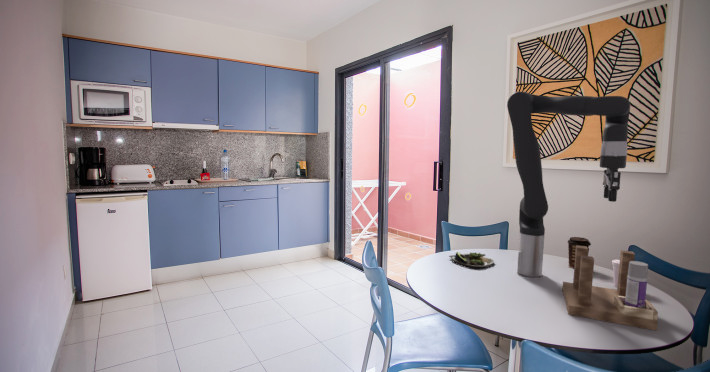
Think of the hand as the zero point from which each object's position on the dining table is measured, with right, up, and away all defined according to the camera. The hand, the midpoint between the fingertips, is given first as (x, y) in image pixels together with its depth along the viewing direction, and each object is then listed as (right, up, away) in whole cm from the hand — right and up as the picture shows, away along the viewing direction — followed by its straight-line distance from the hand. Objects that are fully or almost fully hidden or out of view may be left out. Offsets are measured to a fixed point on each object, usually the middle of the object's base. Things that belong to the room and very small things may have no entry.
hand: (609, 199), depth 126 cm
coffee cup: (+7, -31, +29) cm, 43 cm away
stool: (-9, -35, -10) cm, 38 cm away
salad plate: (-38, -31, +36) cm, 60 cm away
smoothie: (+10, -34, +8) cm, 36 cm away
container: (-6, -34, -19) cm, 39 cm away
